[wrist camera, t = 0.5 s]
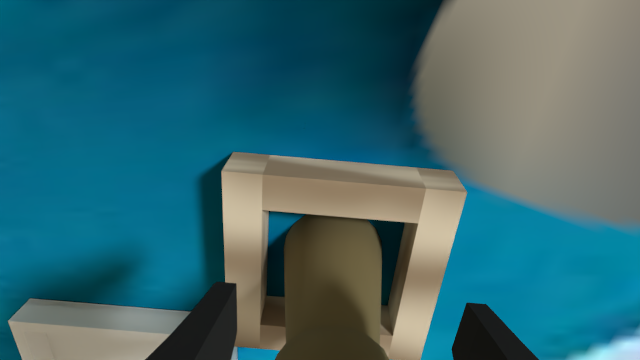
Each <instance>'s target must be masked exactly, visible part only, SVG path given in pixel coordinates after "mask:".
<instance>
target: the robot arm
mask: <svg viewBox="0 0 640 360" xmlns="http://www.w3.org/2000/svg"><path fill="white" fill-rule="evenodd" d="M236 335H237V283H227V282H216V283H215V284H213V286H212V287H211V288H210V289H209V291H208V292H207V293H206V294H205V296H204V297H203V298H202V299H201V301H200V302H199V303H198V304H197V305H196V307H195V308H194V309H193V310H192V311H191V312H190V314H189V315H188V316H187V317H186V318H185V319H184V320H183V321H182V322H181V323H180V325H179V326H178V327H177V328H176V329H175V330H174V331H173V332H172V333H171V334H170V335H169V336H168V337H167V338H166V339H165V340H164V341H163V342H162V343H161V344H160V345H159V346H158V347H157V348H156V349H155V350H154V351H153V352H152V353H151V354H150V355H149V356H148V357H147V358H146V359H145V360H231V358H232V353H233V349H234V345H235V340H236ZM452 353H453V359H454V360H539V359H538V358H537V357H536V356H535V355H534V354H533V353H532V352H531V351H530V350H529V349H528V348H527V347H526V346H525V345H524V344H523V343H522V342H521V341H520V340H519V338H518V337H517V336H516V335H515V334H514V333H513V332H512V331H511V330H510V329H509V328H508V327H507V326H506V325H505V324H504V322H503V321H502V320H501V319H500V318H499V317H498V316H497V315H496V314H495V313H494V312H493V311H492V310H491V309H490V308H489V307H488V306H487V305H486V304H476V303H466V307H465V310H464V313H463V316H462V319H461V322H460V325H459V328H458V331H457V334H456V337H455V340H454V343H453V347H452Z"/></svg>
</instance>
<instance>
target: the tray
mask: <svg viewBox="0 0 640 360" xmlns="http://www.w3.org/2000/svg"><path fill="white" fill-rule="evenodd" d="M189 314H190V312H188V311H176V310H164V309H152V308H140V307H128V306H116V305H104V304H92V303H80V302H68V301H56V300H44V299H32V298H30V299H29V300H28V301H27V302H26V303H25V304H24V305H23V306H22V307H21V308H20V309H19V310H18V311H17V312H16V313H15V314H14V315H13V316H12V317H11V318H10V319H9V320H8V323H9V325H10V328H11V331H12V333H13V336H14V339H15V341H16V344H17V347H18V349H19V352H20V355H21V358H22V360H145V359H146V358H147V357H148V356H149V355H150V354H151V353H152V352H153V351H154V350H155V349H156V348H157V347H158V346H159V345H160V344H161V343H162V342H163V341H164V340H165V339H166V338H167V337H168V336H169V335H170V334H171V333H172V332H173V331H174V330H175V329H176V328H177V327H178V326H179V325H180V323H181V322H182V321H183V320H184V319H185V318H186V317H187V316H188V315H189ZM231 360H237V347H236V346H234V349H233V353H232V358H231Z"/></svg>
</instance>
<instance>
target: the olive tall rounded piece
mask: <svg viewBox="0 0 640 360" xmlns="http://www.w3.org/2000/svg"><path fill="white" fill-rule="evenodd" d="M381 280H382V241H381V239H380V236H379V234H378V232H377V230H376V228H375V227H374V226H373V225H372V224H371V223H370V222H369V221H368V220H367V219H361V218H349V217H337V216H326V215H314V214H307V215H305V216H303V217H302V218H301V219H299V220H298V221H297V222H296V223H294V224H293V226H292V227H291V229H290V230H289V232H288V234H287V235H286V239H285V244H284V283H285V328H286V344H285V345H284V346H283V348H282V349H281V350H280V352H279V353H278V354H277V356H276V358H275V360H389V358H388V356H387V354H386V352H385V350H384V349H383V348H382V347H381V346H380V318H381Z"/></svg>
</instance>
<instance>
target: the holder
mask: <svg viewBox="0 0 640 360" xmlns="http://www.w3.org/2000/svg"><path fill="white" fill-rule="evenodd" d="M221 173H222V201H223V230H224V258H225V282H227V283H237V335H236V340H235V345H234V346H236V347H248V348H260V349H272V350H281V349H282V348H283V346H284V345H285V344H286V328H285V297H278V296H267V257H268V218H269V211H279V212H290V213H302V214H314V215H326V216H337V217H349V218H361V219H373V220H384V221H396V222H405V225H404V230H403V234H402V239H401V244H400V249H399V254H398V258H397V263H396V268H395V273H394V278H393V282H392V287H391V292H390V297H389V302H388V306H386V305H381V318H380V346H381V347H382V348H383V349H384V350H385V352H386V354H387V356H388V358H389V359H393V360H420V358H421V355H422V351H423V348H424V344H425V341H426V337H427V333H428V330H429V326H430V323H431V319H432V316H433V312H434V308H435V305H436V301H437V298H438V294H439V291H440V287H441V283H442V280H443V276H444V273H445V269H446V266H447V262H448V258H449V255H450V251H451V248H452V244H453V241H454V237H455V233H456V230H457V226H458V223H459V219H460V216H461V212H462V208H463V205H464V201H465V198H466V194H467V191H466V190H465V188H464V187H463V185H462V184H461V182H460V181H459V179H458V178H457V176H456V175H455V173H454V172H453V171H449V170H437V169H426V168H414V167H403V166H391V165H379V164H368V163H356V162H345V161H333V160H321V159H310V158H298V157H287V156H275V155H264V154H252V153H240V152H233V153H232V155H231V157H230V158H229V160H228V161H227V163H226V165H225V166H224V168H223V169H222V171H221Z"/></svg>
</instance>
